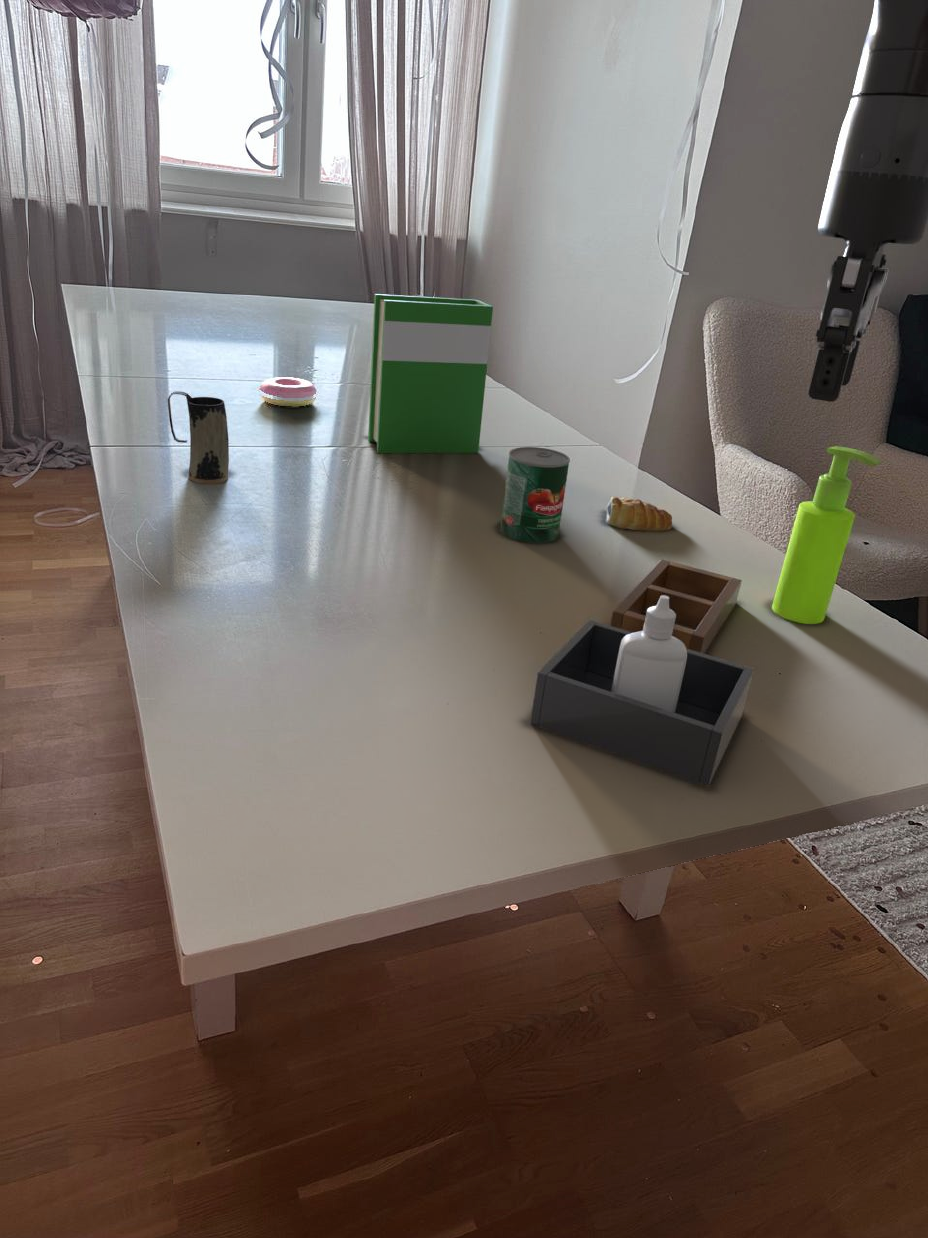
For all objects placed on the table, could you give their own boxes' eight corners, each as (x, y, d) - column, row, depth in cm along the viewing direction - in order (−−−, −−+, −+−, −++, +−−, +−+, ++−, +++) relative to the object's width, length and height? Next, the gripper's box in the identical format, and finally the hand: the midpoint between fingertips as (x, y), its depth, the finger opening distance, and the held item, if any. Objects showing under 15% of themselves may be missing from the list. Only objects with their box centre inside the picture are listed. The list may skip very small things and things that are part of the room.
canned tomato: (546, 551, 115) (558, 468, 110) (490, 537, 118) (499, 456, 113) (566, 533, 122) (578, 454, 117) (512, 520, 124) (522, 443, 120)
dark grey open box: (740, 721, 82) (754, 668, 79) (706, 792, 71) (722, 733, 69) (580, 670, 88) (589, 619, 85) (529, 728, 77) (537, 672, 75)
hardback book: (377, 452, 148) (385, 300, 137) (368, 440, 154) (374, 293, 144) (478, 452, 154) (493, 306, 143) (464, 440, 160) (478, 299, 149)
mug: (231, 472, 132) (229, 390, 126) (227, 484, 127) (225, 399, 122) (175, 470, 131) (171, 387, 125) (169, 481, 126) (164, 396, 120)
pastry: (666, 521, 130) (672, 496, 128) (673, 538, 124) (679, 512, 122) (602, 514, 130) (607, 489, 129) (606, 531, 124) (611, 505, 122)
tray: (735, 607, 105) (742, 579, 103) (696, 668, 90) (704, 637, 89) (656, 585, 108) (661, 558, 107) (607, 640, 94) (612, 611, 92)
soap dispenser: (816, 636, 100) (868, 461, 91) (761, 612, 104) (805, 444, 95) (840, 623, 103) (893, 454, 95) (786, 601, 108) (832, 438, 99)
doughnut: (326, 408, 172) (326, 386, 170) (271, 410, 166) (271, 388, 164) (303, 394, 180) (303, 373, 178) (250, 396, 174) (250, 375, 172)
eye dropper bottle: (658, 742, 76) (686, 616, 71) (599, 717, 79) (622, 594, 74) (678, 721, 79) (706, 599, 74) (621, 698, 82) (644, 579, 77)
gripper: (938, 169, 59) (870, 414, 66) (942, 178, 71) (883, 385, 78) (819, 162, 62) (767, 397, 69) (842, 171, 73) (795, 372, 81)
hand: (828, 391), depth 73 cm, fingers open, 8 cm apart
